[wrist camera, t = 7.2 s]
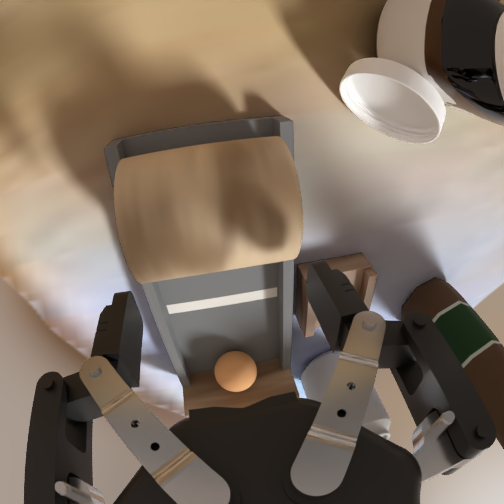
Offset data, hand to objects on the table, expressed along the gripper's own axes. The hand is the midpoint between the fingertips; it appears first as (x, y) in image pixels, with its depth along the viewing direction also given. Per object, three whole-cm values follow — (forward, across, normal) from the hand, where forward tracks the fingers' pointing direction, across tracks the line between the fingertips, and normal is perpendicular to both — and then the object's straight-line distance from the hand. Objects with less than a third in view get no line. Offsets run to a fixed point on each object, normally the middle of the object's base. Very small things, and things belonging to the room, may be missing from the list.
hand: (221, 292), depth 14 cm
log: (+9, 0, -2) cm, 9 cm away
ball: (+6, 0, +16) cm, 17 cm away
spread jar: (+9, -15, -10) cm, 20 cm away
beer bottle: (+9, -23, +15) cm, 29 cm away
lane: (+9, 0, +6) cm, 11 cm away
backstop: (+9, 0, +18) cm, 21 cm away
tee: (+9, -10, +9) cm, 16 cm away
